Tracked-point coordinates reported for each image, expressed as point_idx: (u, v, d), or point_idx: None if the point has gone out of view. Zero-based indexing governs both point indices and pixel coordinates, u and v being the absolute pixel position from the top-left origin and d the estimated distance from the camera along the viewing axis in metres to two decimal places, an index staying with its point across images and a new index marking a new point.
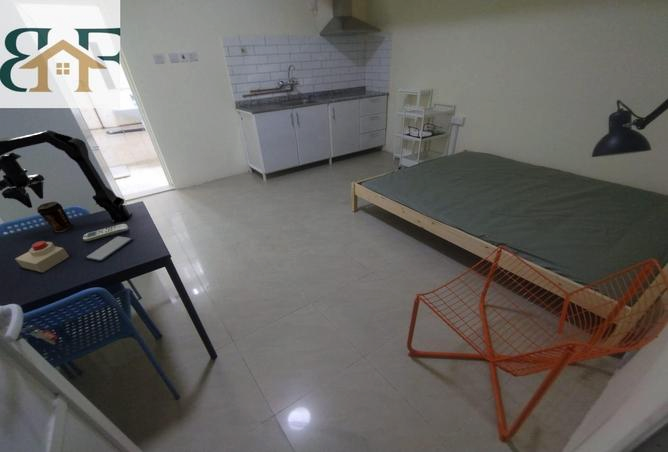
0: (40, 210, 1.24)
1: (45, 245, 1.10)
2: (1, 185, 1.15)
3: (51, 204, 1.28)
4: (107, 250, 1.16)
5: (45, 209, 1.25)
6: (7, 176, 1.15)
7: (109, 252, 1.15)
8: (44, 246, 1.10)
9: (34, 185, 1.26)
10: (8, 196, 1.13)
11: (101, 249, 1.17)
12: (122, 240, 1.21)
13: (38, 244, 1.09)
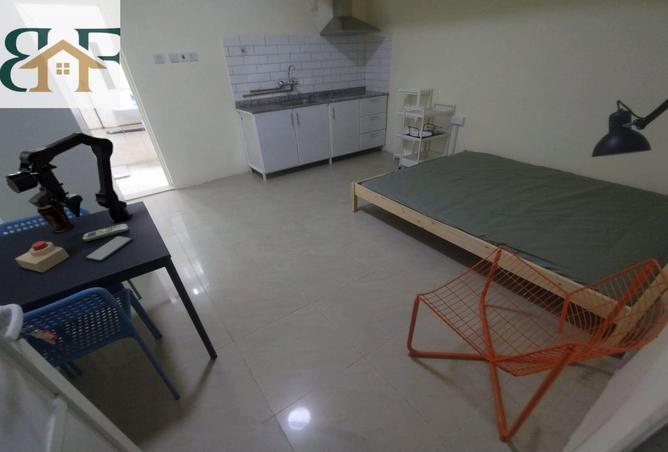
0: (40, 210, 1.24)
1: (45, 245, 1.10)
2: (49, 198, 1.09)
3: None
4: (107, 250, 1.16)
5: (45, 209, 1.25)
6: (51, 188, 1.10)
7: (109, 252, 1.15)
8: (44, 246, 1.10)
9: (55, 201, 1.18)
10: (72, 203, 1.12)
11: (101, 249, 1.17)
12: (122, 240, 1.21)
13: (38, 244, 1.09)
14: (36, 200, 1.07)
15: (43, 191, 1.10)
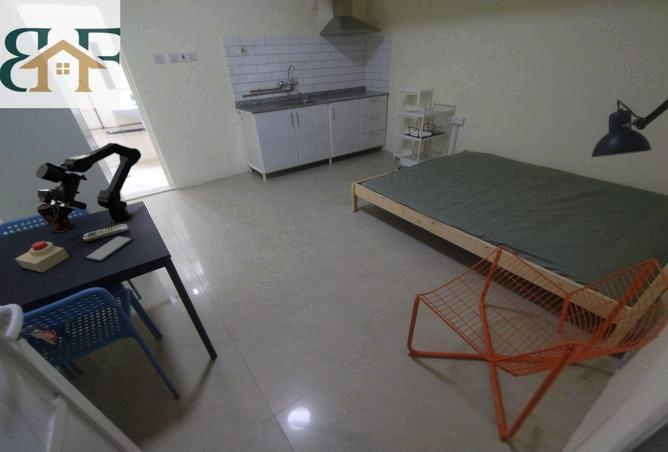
0: (40, 210, 1.24)
1: (45, 245, 1.10)
2: None
3: None
4: (107, 250, 1.16)
5: (45, 209, 1.25)
6: (67, 189, 1.15)
7: (109, 252, 1.15)
8: (44, 246, 1.10)
9: None
10: (75, 206, 1.12)
11: (101, 249, 1.17)
12: (122, 240, 1.21)
13: (38, 244, 1.09)
14: (46, 190, 1.09)
15: (57, 189, 1.13)
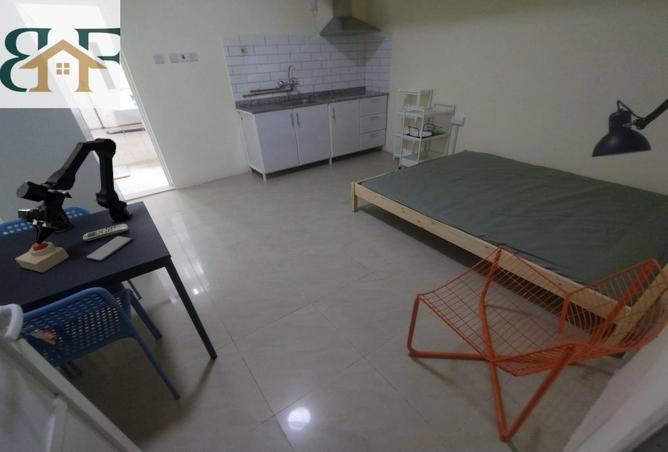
0: None
1: (45, 245, 1.10)
2: (40, 214, 1.06)
3: None
4: (107, 250, 1.16)
5: None
6: (50, 208, 1.10)
7: (109, 252, 1.15)
8: (44, 246, 1.10)
9: (43, 227, 1.11)
10: (58, 226, 1.07)
11: (101, 249, 1.17)
12: (122, 240, 1.21)
13: (38, 244, 1.09)
14: (27, 210, 1.04)
15: (39, 209, 1.09)
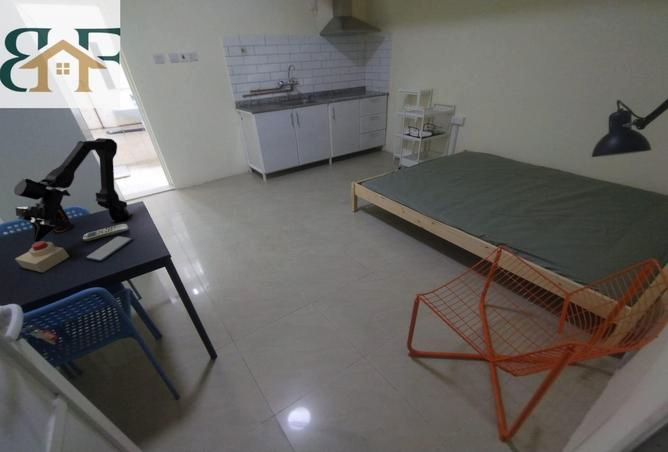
0: None
1: (45, 245, 1.10)
2: None
3: None
4: (107, 250, 1.16)
5: None
6: (48, 206, 1.09)
7: (109, 252, 1.15)
8: (44, 246, 1.10)
9: None
10: (56, 224, 1.07)
11: (101, 249, 1.17)
12: (122, 240, 1.21)
13: (38, 244, 1.09)
14: (25, 208, 1.03)
15: (37, 206, 1.08)
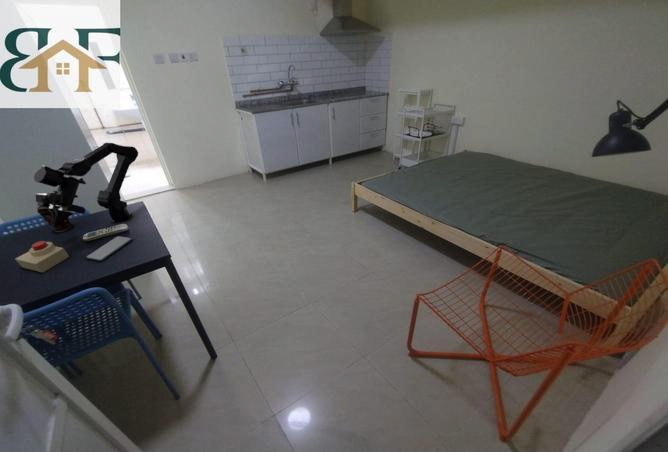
0: (40, 210, 1.24)
1: (45, 245, 1.10)
2: None
3: None
4: (107, 250, 1.16)
5: (45, 209, 1.25)
6: (65, 193, 1.14)
7: (109, 252, 1.15)
8: (44, 246, 1.10)
9: None
10: (74, 210, 1.12)
11: (101, 249, 1.17)
12: (122, 240, 1.21)
13: (38, 244, 1.09)
14: (44, 194, 1.08)
15: (55, 193, 1.13)
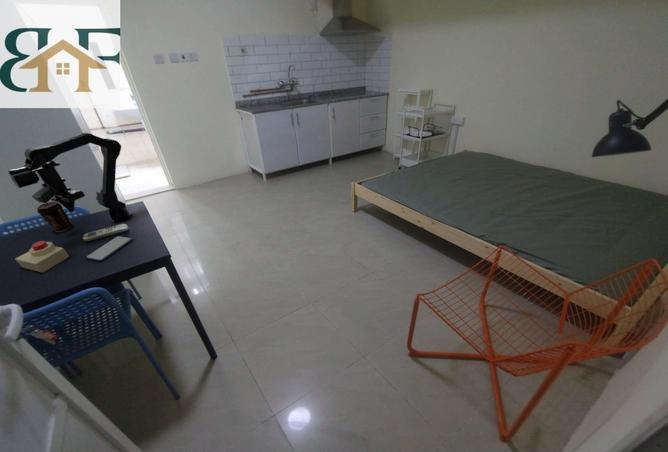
0: (40, 210, 1.24)
1: (45, 245, 1.10)
2: (52, 194, 1.12)
3: (51, 204, 1.28)
4: (107, 250, 1.16)
5: (45, 209, 1.25)
6: (54, 184, 1.13)
7: (109, 252, 1.15)
8: (44, 246, 1.10)
9: None
10: (75, 198, 1.15)
11: (101, 249, 1.17)
12: (122, 240, 1.21)
13: (38, 244, 1.09)
14: (39, 196, 1.10)
15: (46, 187, 1.13)
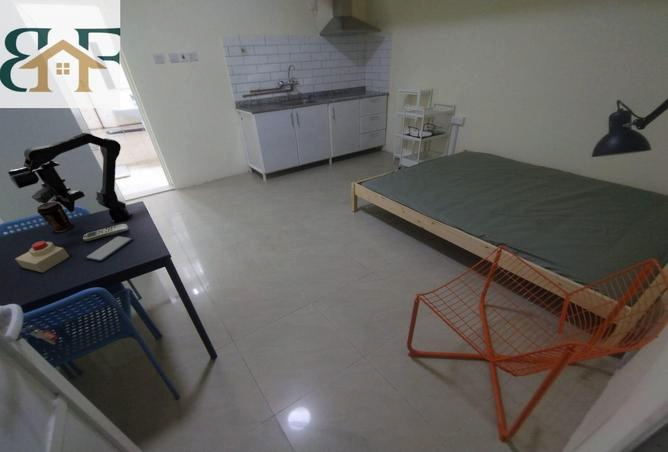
0: (40, 210, 1.24)
1: (45, 245, 1.10)
2: (52, 194, 1.12)
3: (51, 204, 1.28)
4: (107, 250, 1.16)
5: (45, 209, 1.25)
6: (53, 184, 1.13)
7: (109, 252, 1.15)
8: (44, 246, 1.10)
9: None
10: (75, 198, 1.15)
11: (101, 249, 1.17)
12: (122, 240, 1.21)
13: (38, 244, 1.09)
14: (39, 196, 1.10)
15: (46, 187, 1.13)
